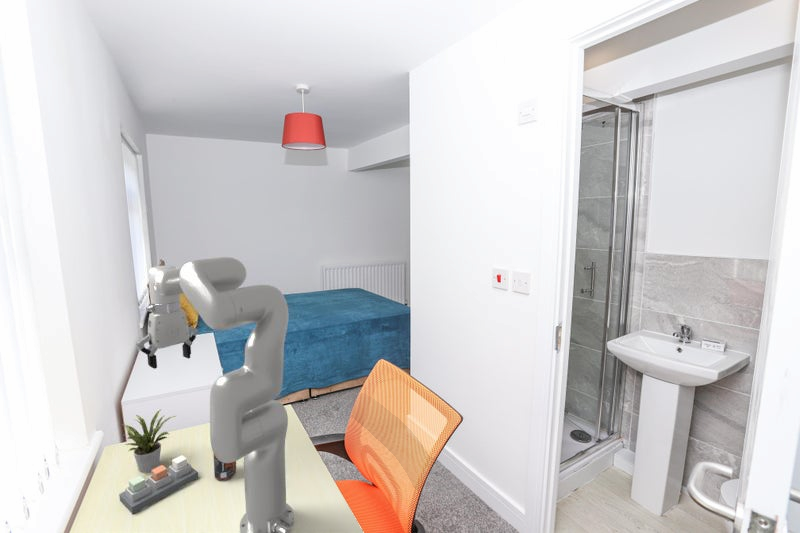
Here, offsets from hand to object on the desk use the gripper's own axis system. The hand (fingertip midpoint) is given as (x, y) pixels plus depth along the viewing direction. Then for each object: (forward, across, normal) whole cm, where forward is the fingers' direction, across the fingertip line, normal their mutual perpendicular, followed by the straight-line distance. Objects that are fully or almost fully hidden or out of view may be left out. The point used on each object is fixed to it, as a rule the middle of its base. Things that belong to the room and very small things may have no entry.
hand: (170, 362), depth 120 cm
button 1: (+28, -16, -11) cm, 34 cm away
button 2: (+28, -10, -11) cm, 31 cm away
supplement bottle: (+31, +4, -20) cm, 37 cm away
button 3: (+28, -4, -11) cm, 30 cm away
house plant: (+31, -6, +2) cm, 32 cm away
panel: (+31, -10, -11) cm, 35 cm away
